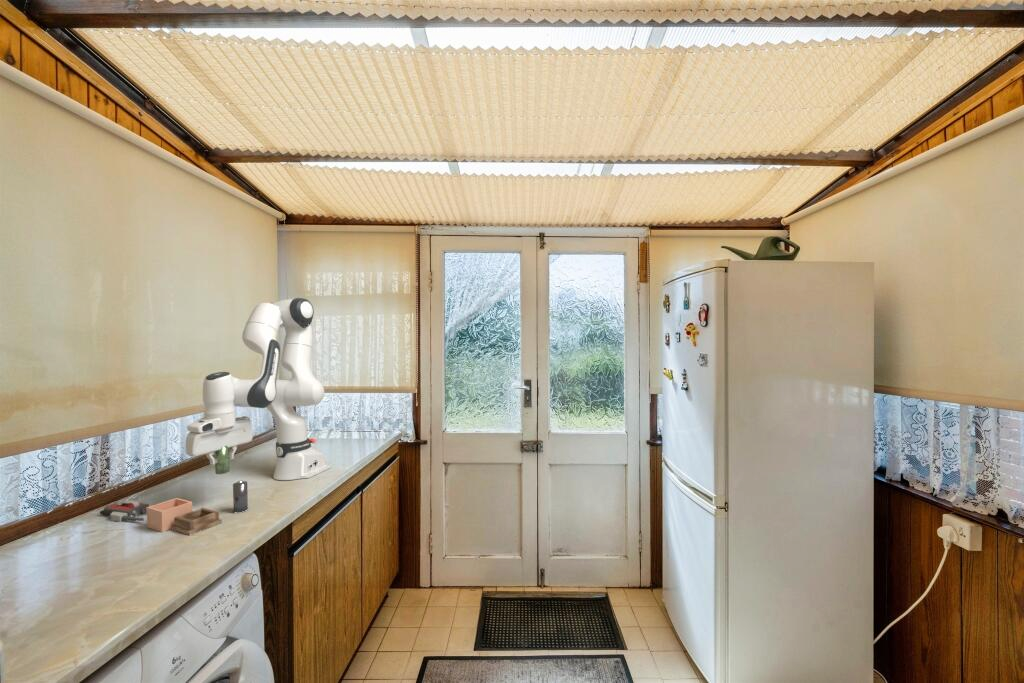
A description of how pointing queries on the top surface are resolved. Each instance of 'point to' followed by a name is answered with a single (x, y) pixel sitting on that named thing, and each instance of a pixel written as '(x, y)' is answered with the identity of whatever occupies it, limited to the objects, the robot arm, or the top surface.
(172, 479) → the top surface
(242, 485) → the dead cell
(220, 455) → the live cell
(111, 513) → the walkie-talkie
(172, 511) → the cup
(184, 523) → the cell holder
